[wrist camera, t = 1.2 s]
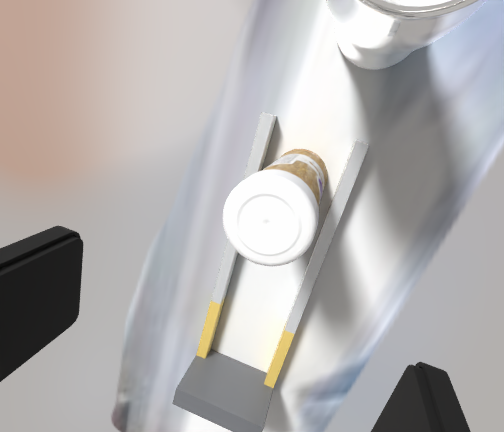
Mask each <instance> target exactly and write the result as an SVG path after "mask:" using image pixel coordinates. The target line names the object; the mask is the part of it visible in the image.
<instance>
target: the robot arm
mask: <svg viewBox="0 0 504 432" xmlns="http://www.w3.org/2000/svg"><path fill="white" fill-rule="evenodd" d="M82 257H83V241H82V240H81V239H80V235H79V233H77V232H75V231H72V230H69V229H67V228H65V227H62V226H55V227H53V228H50V229H47V230H45V231H43V232H40V233H38V234H35V235H33V236H30V237H28V238H25V239H23V240H20V241H18V242H16V243H13V244H10V245H8V246H6V247H3V248H0V382H1V381H2V380H3V379H5V378H6V377H7V376H8V375H10V374H11V373H12V372H13V371H15V370H16V369H17V368H18V367H20V366H21V365H22V364H24V363H25V362H26V361H27V360H29V359H30V358H31V357H32V356H33V355H35V354H36V353H37V352H39V351H40V350H41V349H42V348H44V347H45V346H46V345H47V344H49V343H50V342H51V341H53V340H54V339H55V338H56V337H58V336H59V335H60V334H61V333H63V332H64V331H65V330H66V329H68V328H69V327H70V326H71V325H72V324H73V323H74V322H75V321H76V319H77V317H78V315H79V303H80V288H81V273H82ZM371 432H470V429H469V427H468V424H467V422H466V419H465V417H464V414H463V411H462V409H461V406H460V404H459V401H458V399H457V396H456V394H455V391H454V389H453V386H452V384H451V381H450V378H449V376H448V374H447V372H445V371H444V370H441V369H438V368H436V367H433V366H430V365H428V364H425V363H422V362H419V363H417V364H416V365H415V366H414V365H409V366H408V367H407V368H406V370H405V371H404V373H403V375H402V377H401V379H400V380H399V382H398V384H397V386H396V388H395V389H394V391H393V393H392V395H391V397H390V398H389V400H388V402H387V404H386V406H385V407H384V409H383V411H382V413H381V415H380V416H379V418H378V420H377V422H376V424H375V425H374V427H373V429H372V431H371Z"/></svg>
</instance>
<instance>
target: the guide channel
mask: <svg viewBox="0 0 504 432" xmlns="http://www.w3.org/2000/svg"><path fill="white" fill-rule="evenodd" d="M276 118H277V116H275V115H271V114H268V113H261V116H260V119H259V123H258V127H257V131H256V134H255V138H254V142H253V146H252V149H251V153H250V157H249V160H248V164H247V168H246V172H245V175H244V179H243V180H245V179H246V178H248V177H249V176H251V175H252V174H254V173H257V172H259V171H261V170H262V167H263V163H264V160H265V156H266V153H267V149H268V146H269V142H270V139H271V135H272V132H273V128H274V125H275V121H276ZM368 147H369V144H368V143H365V142H361V141H358V140H355V141H354V144H353V147H352V149H351V152H350V155H349V157H348V160H347V163H346V165H345V168H344V171H343V173H342V176H341V179H340V181H339V184H338V186H337V189H336V192H335V194H334V197H333V200H332V202H331V205H330V208H329V210H328V213H327V216H326V218H325V221H324V224H323V226H322V229H321V232H320V234H319V237H318V239H317V242H316V245H315V247H314V250H313V253H312V255H311V258H310V261H309V263H308V266H307V269H306V271H305V274H304V277H303V279H302V282H301V285H300V287H299V290H298V292H297V295H296V298H295V300H294V303H293V306H292V308H291V311H290V314H289V316H288V319H287V322H286V324H285V327H284V330H283V332H282V335H281V337H280V340H279V343H278V345H277V348H276V351H275V353H274V356H273V359H272V361H271V364H270V367H269V369H268V372H267V373H265V372H263V371H260V370H258V369H256V368H253V367H251V366H249V365H246V364H244V363H241V362H239V361H237V360H234V359H232V358H230V357H227V356H225V355H223V354H220V353H218V352H216V351H213V350H211V345H212V342H213V338H214V335H215V331H216V328H217V324H218V321H219V317H220V314H221V310H222V307H223V303H224V300H225V296H226V293H227V289H228V286H229V282H230V279H231V275H232V272H233V268H234V265H235V261H236V258H237V254H238V252H237V251H236V250H235V249H234V247H233V246H232V245H231V243H230V242H229V240H228V239H227V243H226V246H225V250H224V254H223V257H222V261H221V265H220V269H219V272H218V276H217V280H216V284H215V287H214V291H213V295H212V298H211V302H210V306H209V310H208V313H207V317H206V321H205V325H204V328H203V332H202V336H201V340H200V343H199V347H198V351H197V354H196V356H195V358H194V360H193V362H192V363H191V365H190V367H189V368H188V370H187V372H186V373H185V375H184V377H183V378H182V380H181V382H180V383H179V385H178V387H177V388H176V392H175V396H174V400H173V404H174V405H176V406H178V407H181V408H183V409H185V410H187V411H189V412H191V413H194V414H196V415H198V416H200V417H202V418H204V419H207V420H209V421H211V422H213V423H215V424H217V425H220V426H222V427H224V428H226V429H228V430H231V431H233V432H262V431H263V428H264V424H265V420H266V416H267V412H268V408H269V404H270V400H271V395H272V391H273V388H274V385H275V383H276V380H277V377H278V375H279V372H280V370H281V367H282V365H283V362H284V360H285V357H286V355H287V352H288V350H289V347H290V345H291V342H292V340H293V337H294V334H295V332H296V329H297V327H298V324H299V322H300V319H301V317H302V314H303V312H304V309H305V307H306V304H307V302H308V299H309V297H310V294H311V291H312V289H313V286H314V284H315V281H316V279H317V276H318V274H319V271H320V269H321V266H322V264H323V261H324V259H325V256H326V253H327V251H328V248H329V246H330V243H331V241H332V238H333V236H334V233H335V231H336V228H337V226H338V223H339V221H340V218H341V216H342V213H343V210H344V208H345V205H346V203H347V200H348V198H349V195H350V193H351V190H352V188H353V185H354V183H355V180H356V178H357V175H358V173H359V170H360V167H361V165H362V162H363V160H364V157H365V155H366V152H367V150H368Z"/></svg>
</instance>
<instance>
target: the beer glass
mask: <svg viewBox="0 0 504 432" xmlns="http://www.w3.org/2000/svg"><path fill="white" fill-rule="evenodd" d="M487 1H488V0H326V3H327V6H328V9H329V12H330V14H331V17H332V19H333V20H334V22H335V33H336V39H337V43H338V46H339V48H340V50H341V52H342V53H343V55H344V56H345V57H346V58H347V59H348V60H349V61H350V62H351V63H353V64H355V65H356V66H359V67H361V68H365V69H371V70H377V69H384V68H388V67H391V66H393V65H395V64H397V63H399V62H400V61H402V60H403V59H405V58H406V57H407V56H408V55H409V54H410V53H411V52H412V51H414V50H417V49H420V48H423V47H425V46H427V45H429V44H431V43H433V42H435V41H437V40H439V39H440V38H442V37H443V36H445V35H447V34H448V33H450V32H451V31H453V30H454V29H456V28H457V27H458V26H460V25H461V24H462V23H463V22H465V21H466V20H467V19H468V18H469V17H470V16H472V15H473V14H474V13H475V12H476V11H477V10H478V9H480V8H481V7H482V6H483V5H484V4H485V3H486V2H487Z"/></svg>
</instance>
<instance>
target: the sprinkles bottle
mask: <svg viewBox="0 0 504 432" xmlns="http://www.w3.org/2000/svg"><path fill="white" fill-rule="evenodd" d="M326 181H327V170H326V167H325V164H324V162H323V161H322V160H321V158H320V157H319V156H318V155H317V154H315V153H313V152H312V151H309V150H305V149H294V150H292V151H289V152H287V153H285V154H284V155H282V156H281V157H280V158H279V159H278V160H276V161H275V162H273V163H272V164H271V165H269V166H268V167H266V168H265V169H263V170H262V171H259V172H257V173H254V174H252V175H251V176H249V177H248V178H246V179H245V180H243V181H242V182H241V183H240V184H238V185H237V186H236V187H235V188H234V189H233V191H232V192H231V193H230V195H229V196H228V198H227V200H226V203H225V206H224V211H223V226H224V230H225V233H226V235H227V238H228V240H229V242H230V243H231V245H232V246H233V247H234V249H235V250H236V251H237V252H238V253H239V254H241V255H242V256H243V257H245V258H246V259H248V260H250V261H252V262H254V263H257V264H260V265H265V266H280V265H284V264H288V263H290V262H293V261H294V260H296V259H298V258H299V257H300V256H302V255H303V254H304V253H305V252H306V251H307V249H308V248H309V247H310V245H311V243H312V241H313V239H314V237H315V234H316V230H317V226H318V220H319V209H318V207H319V204H320V201H321V197H322V194H323V190H324V188H325V185H326Z"/></svg>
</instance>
